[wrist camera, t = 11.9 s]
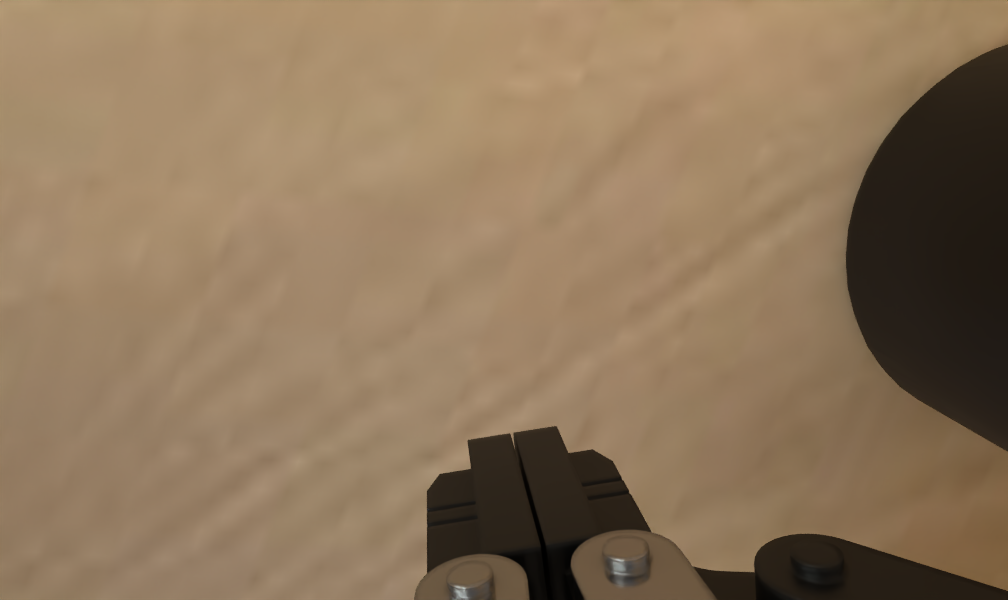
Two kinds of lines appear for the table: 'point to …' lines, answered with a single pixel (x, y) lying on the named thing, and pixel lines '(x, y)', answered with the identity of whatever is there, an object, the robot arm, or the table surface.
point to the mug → (940, 248)
